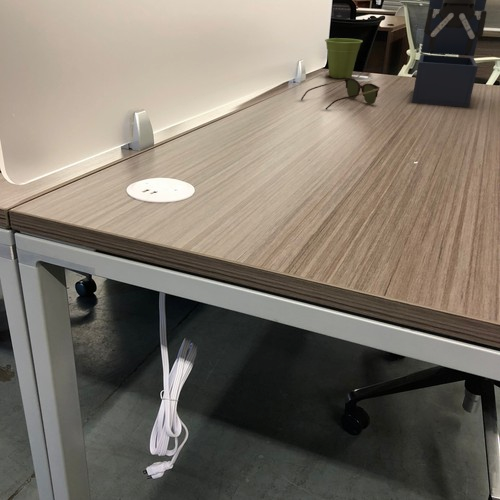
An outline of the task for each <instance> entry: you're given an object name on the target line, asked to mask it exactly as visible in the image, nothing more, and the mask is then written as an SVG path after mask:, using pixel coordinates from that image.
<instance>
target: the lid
mask: <svg viewBox="0 0 500 500" xmlns="http://www.w3.org/2000/svg"><path fill="white" fill-rule="evenodd" d="M442 4H443V0H429V3H428V9H427V12H428V11H429V9H430V8H433V9H439V10H440V9H441V7H442ZM486 5H487V0H475V5H474V10H475V11H482V10H485V9H486ZM426 14H427V15H428V13H426ZM427 15H426V16H427ZM441 21H442V19H441V17H440V15H439V14H437V15H436V16H435V18H432V20H431V24H430V30H432V31H433V30H434V29H435V28H436V27H437V26H438V25H439V24H440V23H441ZM468 23H469V25H470V27H471V29H472V31H473V33H475V32H477V31H478V25H479V20H477V17H476V15H474V16H473V17H472V18H471V19H470V21H469V22H468ZM435 37H436V40H435V45H434V51H433V53H432V55H448V56H464V57H474V56H475V53H476V49H477V45H478V40H479V37H477V38H475V39H474V40H473V45H472V49H471V52H470V53H468V55H464V53H465V48H466V43H467V39H468V38H469V36H468V34H467V32H466V30H465V28H464V27H462V28H455V27H452V28H447V27H446V26H444V27H443V28H442V29H441V30H440V31H439V32H438V33H437V35H436V36H435ZM429 42H430V36H429V35H427V34H425V33H424V32H423V38H422V44H421V49H420V54H431V53H430V52H431V50H429V48H428V47H429Z"/></svg>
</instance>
